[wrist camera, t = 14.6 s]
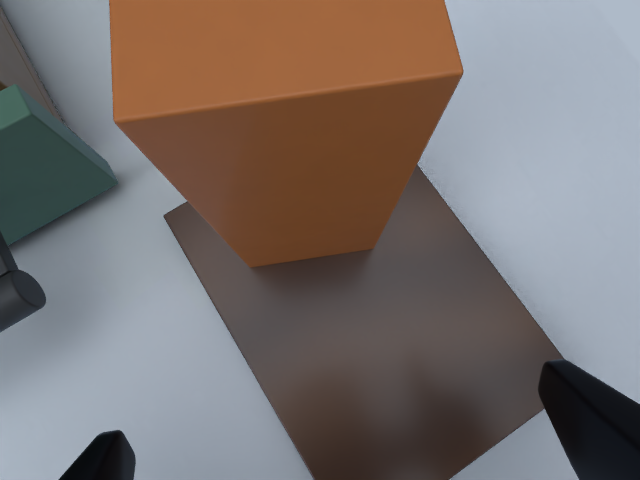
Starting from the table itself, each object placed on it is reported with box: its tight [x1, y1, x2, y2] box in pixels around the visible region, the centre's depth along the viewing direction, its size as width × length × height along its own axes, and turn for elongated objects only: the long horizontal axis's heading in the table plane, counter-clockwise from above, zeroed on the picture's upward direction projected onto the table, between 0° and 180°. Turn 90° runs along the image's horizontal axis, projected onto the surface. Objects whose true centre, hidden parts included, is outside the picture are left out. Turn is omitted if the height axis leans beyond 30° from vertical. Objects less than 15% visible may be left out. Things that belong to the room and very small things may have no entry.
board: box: [164, 165, 565, 480], centre depth 16 cm, size 14×10×1 cm
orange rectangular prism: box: [109, 0, 463, 267], centre depth 12 cm, size 4×5×11 cm
